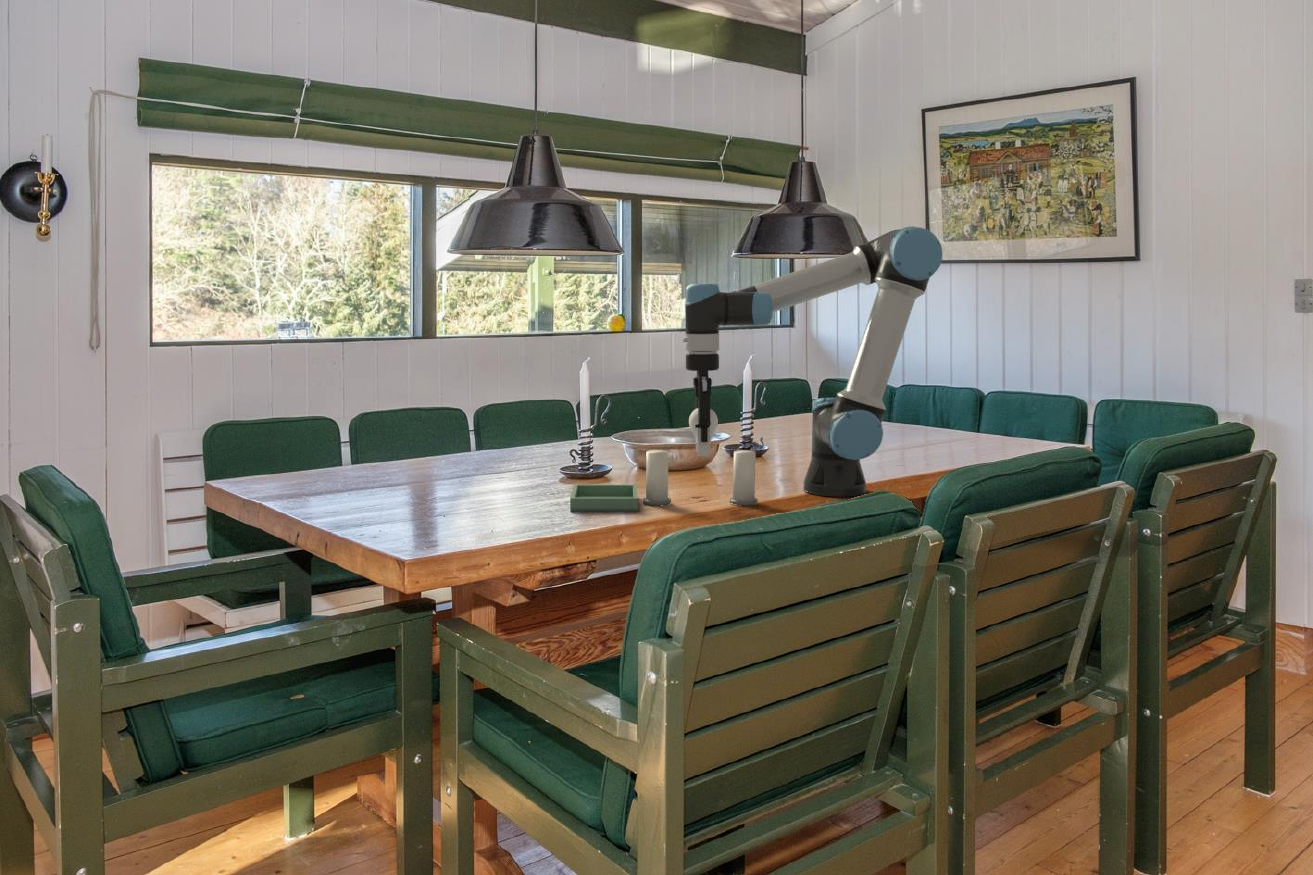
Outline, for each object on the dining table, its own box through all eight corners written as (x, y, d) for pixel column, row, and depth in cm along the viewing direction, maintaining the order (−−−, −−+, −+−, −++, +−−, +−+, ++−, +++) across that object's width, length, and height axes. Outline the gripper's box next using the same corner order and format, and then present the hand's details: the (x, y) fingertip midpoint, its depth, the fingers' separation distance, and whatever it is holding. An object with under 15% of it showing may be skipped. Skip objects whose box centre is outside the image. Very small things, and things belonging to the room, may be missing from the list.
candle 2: (755, 500, 252) (756, 450, 250) (759, 506, 245) (760, 454, 244) (728, 500, 252) (729, 449, 250) (731, 506, 245) (732, 454, 244)
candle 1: (670, 500, 251) (670, 449, 250) (671, 506, 245) (671, 453, 243) (642, 500, 251) (643, 449, 249) (643, 506, 245) (643, 453, 243)
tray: (636, 497, 255) (636, 484, 255) (637, 511, 238) (637, 498, 238) (573, 497, 255) (573, 484, 254) (570, 511, 238) (570, 498, 238)
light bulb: (700, 451, 251) (700, 405, 250) (724, 454, 247) (723, 406, 246) (683, 455, 246) (682, 407, 245) (706, 457, 242) (706, 409, 241)
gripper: (683, 350, 253) (684, 447, 256) (688, 355, 234) (688, 460, 237) (715, 350, 253) (715, 447, 256) (722, 355, 234) (723, 460, 237)
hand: (702, 453), depth 247 cm, fingers closed on light bulb, 6 cm apart
